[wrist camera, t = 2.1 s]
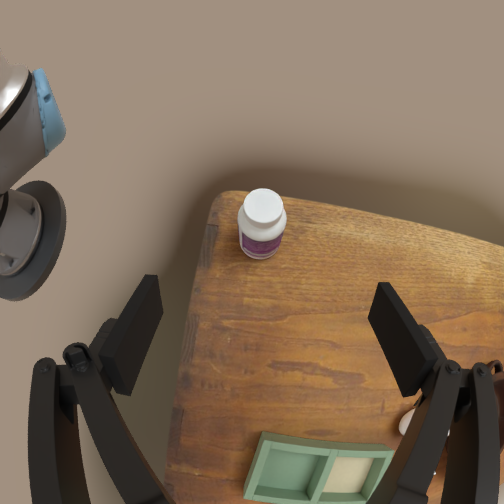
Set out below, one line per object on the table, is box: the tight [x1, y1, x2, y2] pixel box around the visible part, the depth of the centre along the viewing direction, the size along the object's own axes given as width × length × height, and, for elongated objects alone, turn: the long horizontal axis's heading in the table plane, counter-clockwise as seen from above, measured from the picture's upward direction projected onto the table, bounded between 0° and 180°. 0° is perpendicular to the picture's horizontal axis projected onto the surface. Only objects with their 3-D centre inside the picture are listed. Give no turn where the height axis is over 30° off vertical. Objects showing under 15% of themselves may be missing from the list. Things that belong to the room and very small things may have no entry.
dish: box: [446, 360, 504, 454], centre depth 25 cm, size 18×22×5 cm
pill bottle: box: [238, 189, 286, 259], centre depth 32 cm, size 5×5×10 cm
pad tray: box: [243, 431, 394, 504], centre depth 25 cm, size 17×9×4 cm, turn 75°
